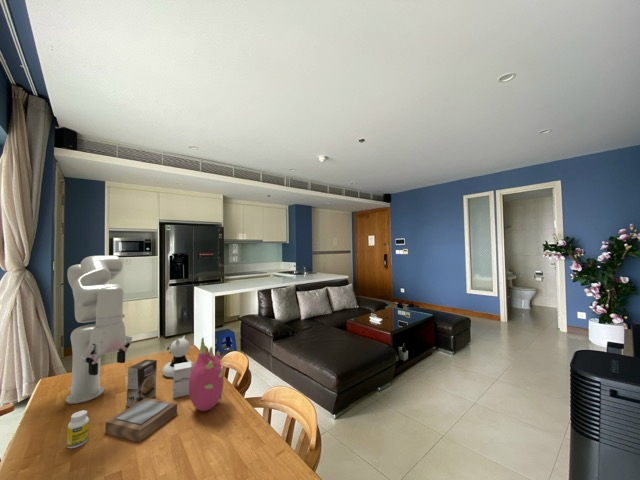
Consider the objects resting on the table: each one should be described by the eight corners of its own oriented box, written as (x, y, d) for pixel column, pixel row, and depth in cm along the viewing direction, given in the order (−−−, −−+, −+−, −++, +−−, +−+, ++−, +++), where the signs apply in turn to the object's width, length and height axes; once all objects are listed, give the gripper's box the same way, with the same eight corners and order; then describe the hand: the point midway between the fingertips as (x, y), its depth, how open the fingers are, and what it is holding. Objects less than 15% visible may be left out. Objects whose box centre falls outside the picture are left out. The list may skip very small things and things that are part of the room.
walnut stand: (105, 433, 92) (105, 420, 93) (146, 407, 108) (146, 396, 108) (139, 442, 88) (139, 429, 88) (177, 413, 104) (177, 402, 104)
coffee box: (138, 408, 107) (139, 368, 108) (125, 406, 109) (127, 367, 109) (156, 396, 116) (157, 359, 117) (144, 394, 117) (145, 358, 118)
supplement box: (172, 399, 114) (173, 370, 114) (173, 391, 120) (173, 363, 121) (191, 394, 117) (191, 366, 118) (190, 387, 124) (191, 360, 124)
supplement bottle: (69, 451, 84) (70, 420, 84) (64, 444, 87) (65, 415, 87) (91, 441, 89) (92, 412, 89) (85, 435, 92) (86, 407, 92)
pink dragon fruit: (227, 415, 103) (229, 339, 104) (189, 426, 96) (191, 345, 97) (219, 393, 118) (221, 327, 119) (186, 402, 111) (188, 332, 112)
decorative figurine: (170, 366, 146) (171, 331, 146) (197, 365, 147) (197, 330, 148) (156, 379, 131) (157, 340, 132) (186, 378, 132) (187, 339, 133)
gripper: (124, 314, 103) (122, 357, 102) (74, 326, 86) (72, 378, 86) (139, 315, 101) (138, 359, 101) (91, 328, 85) (89, 381, 84)
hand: (107, 368), depth 93 cm, fingers open, 9 cm apart
